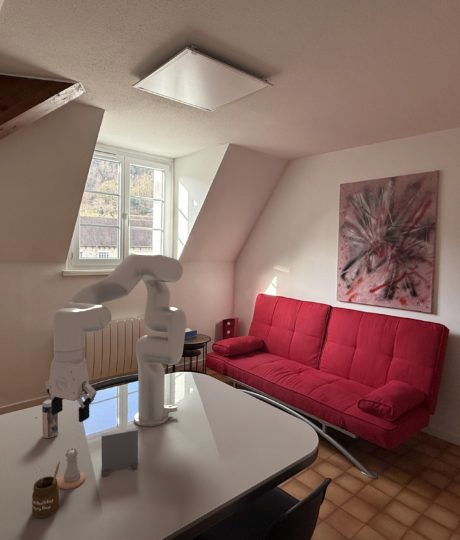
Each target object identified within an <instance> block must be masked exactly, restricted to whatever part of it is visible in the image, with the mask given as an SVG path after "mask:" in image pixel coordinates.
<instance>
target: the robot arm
mask: <svg viewBox="0 0 460 540" xmlns="http://www.w3.org/2000/svg"><path fill="white" fill-rule="evenodd" d="M183 268H184V267H183V265H182V263H181V261H179V260H178V259H176V258H174V257H170V256H167V255H164V254H163V255H162V254H159V253H153V252H152V253H147V252H145V253H144V252H135V253H134V252H133V253H130V254H129V255H127V256H126V257H125V258H124V259H123V261H121V262H120V264H119V265H117V266H116V268H115V269H114V270H113V271H112V272H111V273H110V274H109V275H107V277H105V278H102V279H99V280H97V281H95V282H94V283H92V284H90V285H87V286H86V287H84V288H82V289H80V290H79V291H78V292H77V293H76V294H74V295H73V296H72V297H71V298H70V299H69V300H68V302H66V304H65V305H64V306H63V308H59V309H57V310H56V311H54V313H53V317H52V318H53V321H52V323H53V350H52V351H53V359H52V360H51V364H50V369H49V379H48V380H46V381H45V382H44V385H45V387H46V392H47V394H48V395H49V397H48V399H50V400H52V401H51V409H52V415H55V414H57V413H61V412H62V411H63V400H67V401H73V402H75V401H77V403H78V405H79V407H78V422H79V423H83V422H85V421H86V420H88V419H89V418H90V405H91V404H92V402H93V401H95V397H96V395H97V394H98V393H97V390H96V389H95V388H93V387H92V386H91V385H90V379H89V370H88V364H87V360H86V358H85V356H86V355H85V352H86V351H85V334H86V333H94V332H95V333H96V332H101V331H103V330H105V329H106V328H108V326H109V325H110V324H111V322H112V318H113V317H112V313H111V310H110V309H109V308H108V307H106V306H105V305H102V304H103V303H107V302H112V301H116V300H120V299H124V298H125V297H128V295H129V294H130V293H131V292H132V291H133V290H134V288H135V287H136V286H137V285H138V284H139V282H141V280H142V281H143V283H144V285H145V287H146V291H147V295H146V303H145V310H144V317H143V324H144V328H145V329H147V330H148V331H151V332H156V333H163V334H164V333H165V334H167V336H162V335H157V334H156V335H154V334H145V335H142V336H141V337H139V338H138V340H137V341H136V344H135V356H136V359H137V366H138V367H137V368H138V370H137V371H138V375H137V377H138V379H137V380H138V398H137V399H138V401H137V402H138V410H137V412H136V413H135V415H134V416H133V421H134V423H135V424H136V425H139V426H140V427H141V426H142V427H156V426H160V425H163V424H164V423H166V422H167V421H169V413H176V412H178V406H173V404H168V405H167V404H165V395H166V394H165V392H166V391H165V390H166V389H165V381H166V380H165V378H166V377H165V375H166V374H165V368H164V365H165V364H166V365H173V366H174V365H176V364H178V363H179V362H180V361H181V359H182V356H183V352H184V345H185V338H186V331H187V330H186V329H187V316H186V313H185V311H184V310H183V309H181V308H178V307H173V306H172V307H171V306H170V301H171V292H170V288H169V287H168V285H167V283H177V282H179V280H181V278H182V276H183V273H184V269H183ZM163 364H164V365H163Z"/></svg>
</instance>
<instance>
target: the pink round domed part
mask: <svg viewBox="0 0 460 540" xmlns="http://www.w3.org/2000/svg"><path fill="white" fill-rule="evenodd" d="M80 474H81V476H80V478H79V479H78V480H76V481H75V482H71V483H68V482H65V481H64V479H63V478H64V476H63V475H64V473H63V474H62V475H61V476H59V477H58V478H57V486H58V488H60V489H62V490H71V489H74V488H77V487H79V486H80V485H82V484H83V483H84V481H85V479H86V474H85V473H84V471H81V470H80Z"/></svg>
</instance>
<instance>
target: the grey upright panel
mask: <svg viewBox="0 0 460 540" xmlns="http://www.w3.org/2000/svg"><path fill="white" fill-rule="evenodd" d="M100 437H101V474H102V477H103V478H105V477H109V476H110V473H111V472H116V471H121V470H126V469H132V471H133V472H134V471H137V470H139V466H138V465H139V429H138V427H133V428H126V429H122V430H115V431H108V432H104V433H101V436H100Z"/></svg>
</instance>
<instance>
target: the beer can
mask: <svg viewBox="0 0 460 540" xmlns="http://www.w3.org/2000/svg"><path fill="white" fill-rule="evenodd" d="M51 401H52V400H50V398H47V399H45V400H44V401H43V402H42V405H41V409H42V413H41V415H42V437H43V438H45V439H52V438H54V436H55V437H56V436H57V435H58V434H59V414H58V413H57V414H55V415H52V409H51ZM51 437H52V438H51Z"/></svg>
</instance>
